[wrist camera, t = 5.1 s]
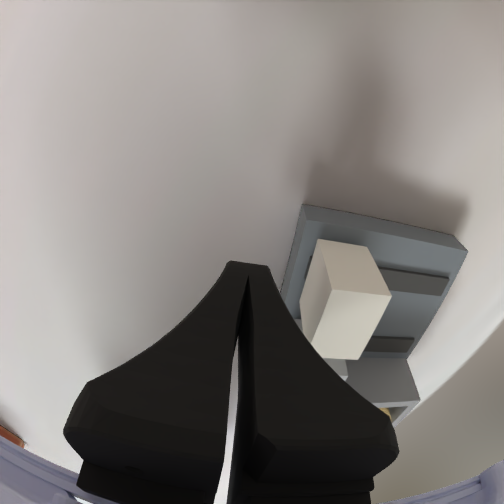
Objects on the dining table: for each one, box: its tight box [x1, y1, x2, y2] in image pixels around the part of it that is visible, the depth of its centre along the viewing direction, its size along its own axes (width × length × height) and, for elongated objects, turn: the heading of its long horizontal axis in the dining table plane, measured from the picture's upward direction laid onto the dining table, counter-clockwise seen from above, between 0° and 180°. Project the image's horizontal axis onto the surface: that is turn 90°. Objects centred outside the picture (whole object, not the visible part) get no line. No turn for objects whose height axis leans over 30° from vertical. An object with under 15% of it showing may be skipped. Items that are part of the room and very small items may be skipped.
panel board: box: [280, 204, 468, 428], centre depth 14 cm, size 8×12×4 cm, turn 172°
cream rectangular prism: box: [299, 239, 392, 360], centre depth 11 cm, size 2×3×3 cm, turn 172°
